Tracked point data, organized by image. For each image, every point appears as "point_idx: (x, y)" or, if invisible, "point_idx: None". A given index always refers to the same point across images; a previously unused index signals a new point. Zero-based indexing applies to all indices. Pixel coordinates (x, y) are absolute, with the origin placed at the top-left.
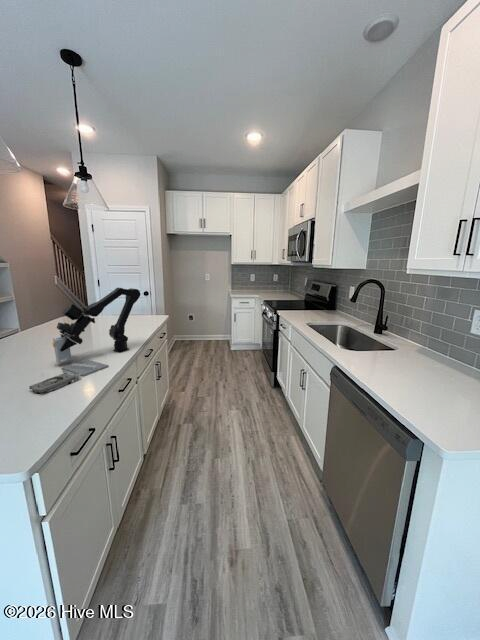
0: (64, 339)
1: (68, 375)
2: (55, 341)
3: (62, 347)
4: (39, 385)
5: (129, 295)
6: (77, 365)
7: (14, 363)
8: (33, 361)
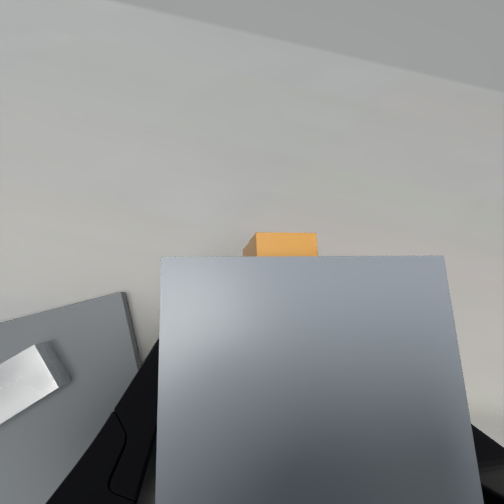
0: None
1: None
2: (181, 261)
3: (142, 365)
4: None
5: None
6: None
7: (461, 117)
8: (436, 195)
